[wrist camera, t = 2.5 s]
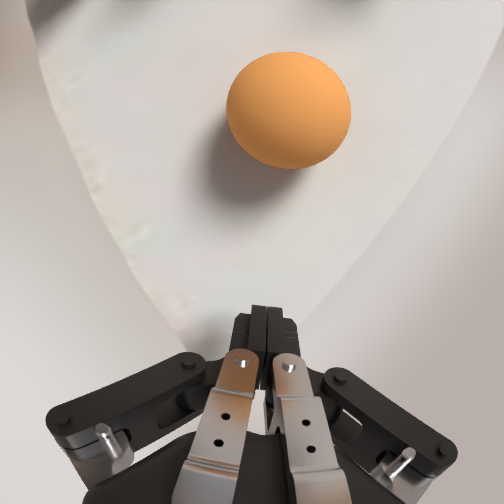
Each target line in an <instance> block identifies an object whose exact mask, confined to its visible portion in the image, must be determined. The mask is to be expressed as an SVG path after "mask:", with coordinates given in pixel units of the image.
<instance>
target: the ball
mask: <svg viewBox="0 0 504 504" xmlns="http://www.w3.org/2000/svg"><path fill="white" fill-rule="evenodd" d="M226 112H227V120H228V124H229V127H230V129H231V132H232V134H233V136H234V138H235V139H236V141H237V142H238V143H239V145H240V146H241V147H242V148H243V149H244V150H245V151H246V152H247V153H248V154H249V155H251V156H252V157H253V158H255V159H256V160H258V161H260V162H262V163H264V164H266V165H269V166H272V167H277V168H282V169H300V168H305V167H309V166H312V165H315V164H317V163H319V162H321V161H323V160H325V159H326V158H328V157H329V156H330V155H331V154H333V153H334V152H335V151H336V149H337V148H338V147H339V146H340V144H341V143H342V142H343V140H344V138H345V136H346V134H347V132H348V129H349V125H350V120H351V106H350V100H349V96H348V93H347V91H346V88H345V86H344V85H343V83H342V81H341V80H340V78H339V77H338V76H337V74H336V73H335V72H334V71H333V70H332V69H331V68H330V67H328V66H327V65H326V64H324V63H323V62H321V61H320V60H318V59H316V58H314V57H311V56H308V55H305V54H301V53H297V52H278V53H272V54H269V55H265V56H263V57H260V58H258V59H256V60H254V61H253V62H251V63H250V64H248V65H247V66H246V67H245V68H244V69H243V70H242V71H241V72H240V73H239V74H238V75H237V77H236V78H235V80H234V82H233V84H232V86H231V88H230V91H229V94H228V98H227V105H226Z"/></svg>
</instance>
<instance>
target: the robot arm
mask: <svg viewBox="0 0 504 504" xmlns="http://www.w3.org/2000/svg"><path fill="white" fill-rule="evenodd" d="M259 384H260V390H265V399H264V418H265V431H266V432H265V433H266V435H259V434H256V433H252V432H249V431H247V426H248V421H249V415H250V410H251V404H252V400H253V399H254V395H255V390H256V389H259ZM343 409H345V410H346V411H347V412H348V413H350V414H351V415H352V416H353V417H355V418H356V419H357V420H359V421H360V422H361V424H362V426H361V425H360V424H359V423H357V422H356V421H355V420H354V419H352V418H351V417H350V416H349V415H347V414H346V413H345V412H343ZM202 413H203V415H202V418H201V421H200V423H199V426H198V429H197V431H195V432H191V433H188V434H185V435H183V436H180V437H178V438H177V439H175V440H173V441H172V442H170V443H168V444H167V445H165V446H164V447H162V448H160V449H159V450H157V451H156V452H154V453H152V454H151V455H149V456H147V457H146V458H144V459H142V460H140V461H139V462H137V463H135V464H133V465H132V466H130V465H131V464H132V462H133V460H134V452H136V451H138V450H140V449H141V448H143V447H145V446H147V445H149V444H151V443H152V442H154V441H156V440H158V439H160V438H162V437H163V436H165V435H167V434H169V433H170V432H172V431H174V430H176V429H177V428H179V427H181V426H182V425H184V424H186V423H187V422H189V421H191V420H192V419H194V418H195V417H197V416H199V415H200V414H202ZM46 426H47V428H48V429H49V431H50V432H51V433H52V435H53V436H54V438H55V440H56V442H57V443H58V445H59V446H60V447H61V449H62V450H63V451H64V452H65V454H66V455H67V456H68V457H69V458H70V460H71V462H72V464H73V465H74V467H75V469H76V471H77V472H78V474H79V476H80V477H81V479H82V481H83V482H84V484H85V485H86V487H87V488H88V490H89V491H88V492H87V493H86V495H85V497H84V499H83V503H82V504H416V503H417V502H418V500H419V499H420V498H421V496H422V495H423V494H424V492H425V491H426V490H427V488H428V487H429V485H430V484H431V483H432V481H433V480H434V479H435V478H437V477H438V476H439V475H440V474H442V473H443V472H444V471H445V470H446V469H447V468H448V467H450V466H451V465H452V464H453V463H454V462H455V461H456V458H457V455H458V451H457V448H456V446H455V444H454V443H453V442H452V441H451V440H449V439H447V438H446V437H444V436H443V435H441V434H440V433H438V432H436V431H435V430H434V429H432V428H431V427H429V426H428V425H426V424H424V423H423V422H422V421H420V420H418V419H417V418H416V417H414V416H413V415H411V414H410V413H408V412H407V411H405V410H404V409H403V408H401V407H399V406H398V405H397V404H395V403H394V402H392V401H391V400H389V399H388V398H387V397H385V396H384V395H382V394H381V393H380V392H378V391H376V390H375V389H374V388H373V387H371V386H370V385H368V384H367V383H365V382H364V381H363V380H361V379H360V378H359V377H357V376H356V375H354V374H353V373H351V372H350V371H349V370H346V369H344V368H338V367H335V368H330V369H328V370H327V371H326V372H325V374H324V373H320V372H317V371H314V370H311V369H309V368H308V367H307V366H306V364H305V361H304V360H303V359H302V358H301V355H300V349H299V341H298V333H297V326H296V324H295V323H294V321H293V320H292V319H289V318H283V312H282V308H278V307H269V306H268V307H267V306H260V305H252V310H251V314H244V313H240V314H239V315H238V316H237V317H236V318H235V322H234V327H233V332H232V337H231V343H230V348H229V352H228V353H227V354H226V355H225V357H224V358H222V359H220V360H216V361H207V362H205V360H204V358H203V357H202V356H200V355H199V354H196V353H192V352H183V353H179V354H177V355H175V356H173V357H171V358H168V359H166V360H164V361H162V362H160V363H158V364H156V365H153V366H151V367H149V368H147V369H145V370H142V371H140V372H138V373H136V374H133V375H131V376H129V377H127V378H124V379H122V380H120V381H117V382H115V383H113V384H110V385H108V386H106V387H103V388H101V389H99V390H96V391H94V392H91V393H89V394H86V395H84V396H81V397H79V398H76V399H74V400H71V401H68V402H66V403H63V404H61V405H58V406H56V407H53V408H52V409H51V410H50V411H49V412H48V414H47V416H46ZM333 444H334V445H335V446H334V445H333ZM354 461H355V462H356V463H355V462H354ZM359 465H360V466H361V467H362V468H364V469H365V470H366V471H367V472H368V473H370V475H369V474H368V473H367V472H366V471H365V470H364V469H362V468H361V467H360V466H359ZM129 466H130V467H129Z"/></svg>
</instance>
